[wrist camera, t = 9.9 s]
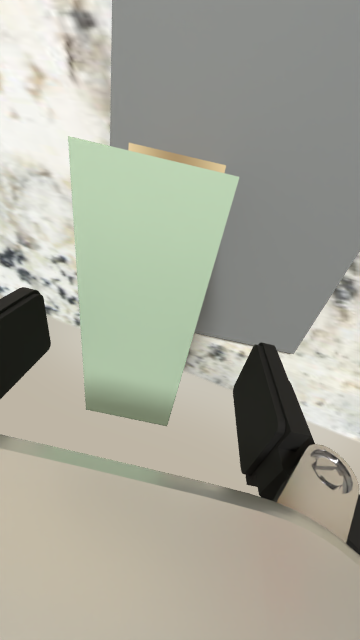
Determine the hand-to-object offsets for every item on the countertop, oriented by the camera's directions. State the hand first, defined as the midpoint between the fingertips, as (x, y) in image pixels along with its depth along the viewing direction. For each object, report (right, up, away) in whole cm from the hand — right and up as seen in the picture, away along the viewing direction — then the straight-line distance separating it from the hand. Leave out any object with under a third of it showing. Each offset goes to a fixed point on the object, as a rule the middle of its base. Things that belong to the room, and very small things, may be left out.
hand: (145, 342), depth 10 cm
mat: (+7, +11, +9) cm, 15 cm away
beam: (0, +4, +5) cm, 6 cm away
